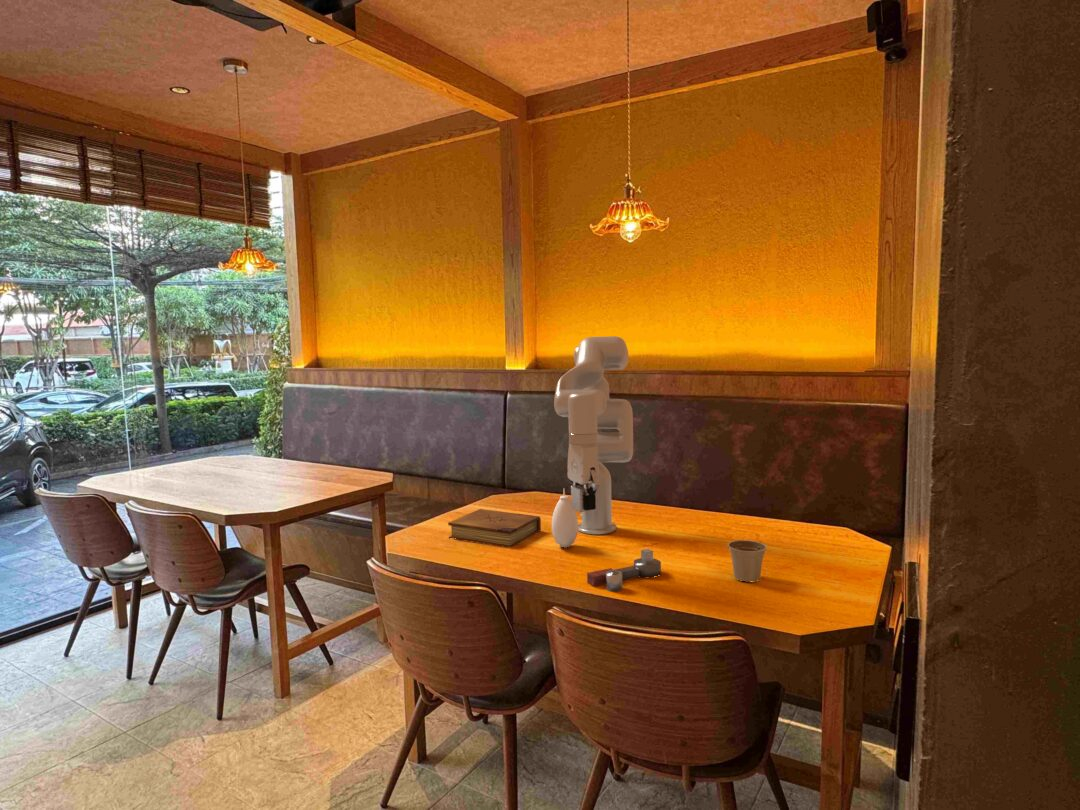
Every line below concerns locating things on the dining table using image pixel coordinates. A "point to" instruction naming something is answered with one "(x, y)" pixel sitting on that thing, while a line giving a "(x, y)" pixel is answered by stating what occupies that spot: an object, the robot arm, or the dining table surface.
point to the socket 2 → (614, 581)
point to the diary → (495, 527)
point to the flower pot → (747, 559)
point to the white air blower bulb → (564, 522)
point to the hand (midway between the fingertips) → (584, 506)
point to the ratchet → (630, 569)
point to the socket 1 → (580, 498)
